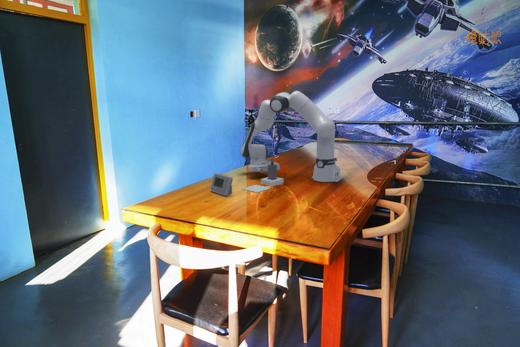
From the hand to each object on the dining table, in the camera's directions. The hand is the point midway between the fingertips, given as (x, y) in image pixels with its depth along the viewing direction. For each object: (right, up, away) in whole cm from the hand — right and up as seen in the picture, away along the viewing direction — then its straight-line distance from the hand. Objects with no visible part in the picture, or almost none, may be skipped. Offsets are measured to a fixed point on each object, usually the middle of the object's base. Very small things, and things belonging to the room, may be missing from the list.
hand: (267, 169), depth 227 cm
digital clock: (-27, -14, -28) cm, 41 cm away
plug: (+3, -9, -7) cm, 12 cm away
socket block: (+3, -9, -7) cm, 12 cm away
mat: (-7, -12, -20) cm, 24 cm away
